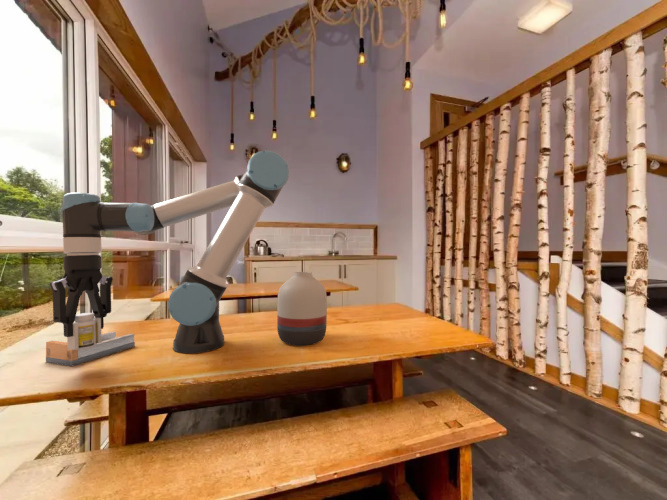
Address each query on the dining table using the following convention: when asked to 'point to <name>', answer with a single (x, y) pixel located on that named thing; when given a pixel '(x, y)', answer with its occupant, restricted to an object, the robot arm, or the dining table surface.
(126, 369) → the dining table surface
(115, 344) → the rail
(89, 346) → the supplement bottle
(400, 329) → the dining table surface
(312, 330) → the vase
